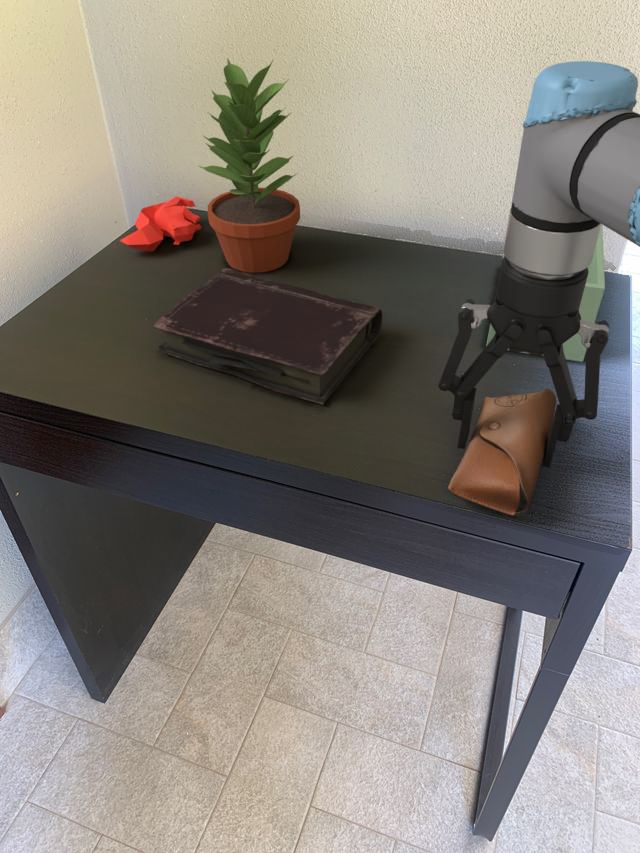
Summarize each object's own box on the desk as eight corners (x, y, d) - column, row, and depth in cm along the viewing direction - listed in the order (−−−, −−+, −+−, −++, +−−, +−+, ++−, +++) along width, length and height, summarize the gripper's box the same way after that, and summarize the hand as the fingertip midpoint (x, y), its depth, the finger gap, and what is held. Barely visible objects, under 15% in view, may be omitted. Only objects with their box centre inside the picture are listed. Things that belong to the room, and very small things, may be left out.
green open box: (582, 362, 90) (605, 288, 83) (485, 347, 93) (499, 274, 85) (583, 279, 106) (601, 211, 99) (500, 269, 109) (512, 202, 102)
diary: (230, 293, 104) (227, 263, 101) (381, 334, 95) (383, 302, 92) (154, 357, 92) (148, 325, 88) (320, 411, 83) (320, 377, 79)
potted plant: (216, 237, 118) (194, 42, 98) (303, 238, 118) (299, 43, 98) (201, 280, 107) (173, 70, 87) (298, 281, 106) (291, 71, 87)
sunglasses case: (481, 392, 82) (519, 359, 78) (527, 427, 83) (566, 396, 78) (443, 493, 70) (485, 461, 65) (497, 533, 70) (542, 504, 66)
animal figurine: (113, 256, 113) (106, 227, 110) (156, 219, 124) (151, 191, 121) (175, 266, 111) (171, 237, 107) (214, 227, 121) (211, 199, 118)
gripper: (673, 259, 60) (607, 449, 75) (436, 227, 66) (418, 409, 80) (676, 300, 55) (604, 496, 69) (418, 261, 60) (402, 450, 75)
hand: (504, 449), depth 75 cm, fingers closed on sunglasses case, 8 cm apart
